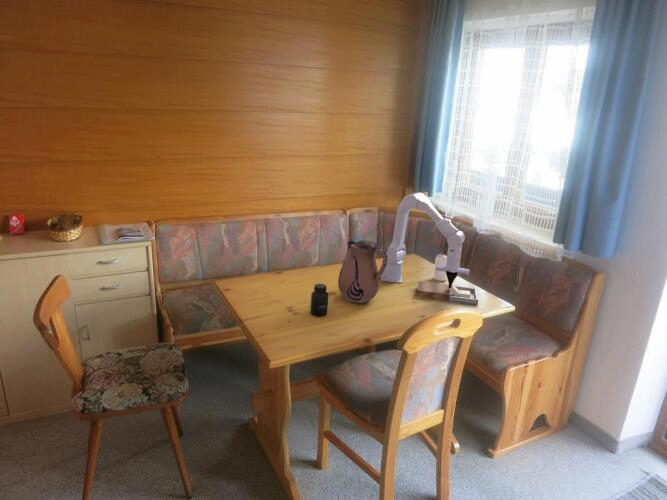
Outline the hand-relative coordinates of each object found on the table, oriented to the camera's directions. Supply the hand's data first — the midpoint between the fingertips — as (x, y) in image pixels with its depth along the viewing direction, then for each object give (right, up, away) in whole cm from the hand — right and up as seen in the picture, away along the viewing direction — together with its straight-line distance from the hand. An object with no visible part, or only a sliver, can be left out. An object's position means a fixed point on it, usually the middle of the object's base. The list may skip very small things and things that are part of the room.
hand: (449, 287), depth 216 cm
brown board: (-7, -3, +2) cm, 8 cm away
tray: (+6, -4, 0) cm, 7 cm away
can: (0, +2, +22) cm, 22 cm away
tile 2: (+7, -2, -1) cm, 7 cm away
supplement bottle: (-58, -9, -24) cm, 63 cm away
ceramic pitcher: (-40, -5, -9) cm, 41 cm away
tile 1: (+1, -2, 0) cm, 2 cm away
